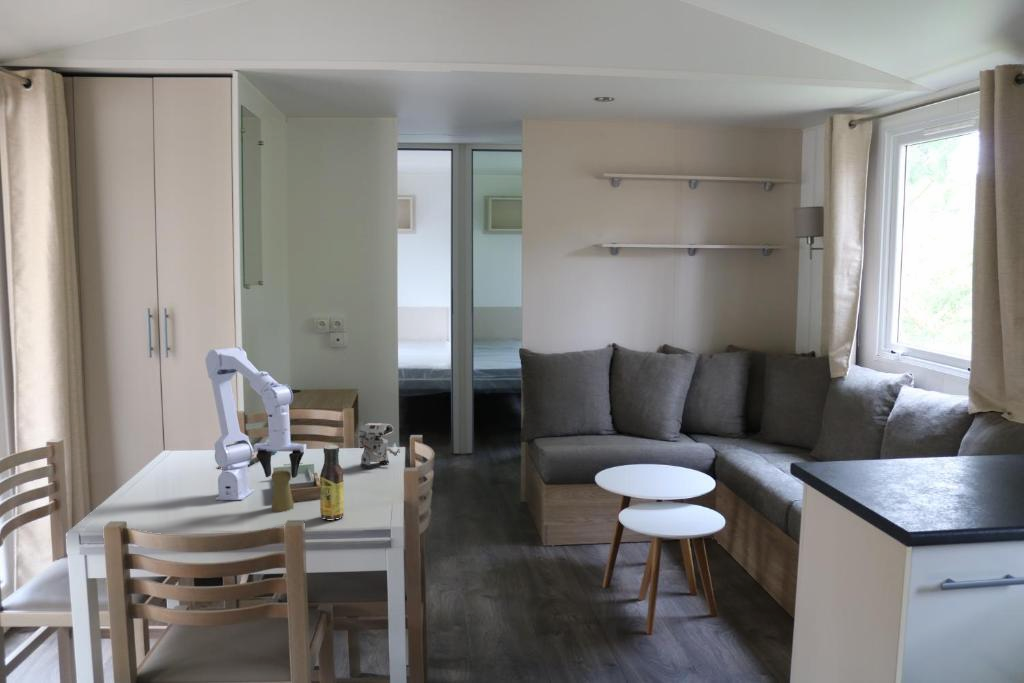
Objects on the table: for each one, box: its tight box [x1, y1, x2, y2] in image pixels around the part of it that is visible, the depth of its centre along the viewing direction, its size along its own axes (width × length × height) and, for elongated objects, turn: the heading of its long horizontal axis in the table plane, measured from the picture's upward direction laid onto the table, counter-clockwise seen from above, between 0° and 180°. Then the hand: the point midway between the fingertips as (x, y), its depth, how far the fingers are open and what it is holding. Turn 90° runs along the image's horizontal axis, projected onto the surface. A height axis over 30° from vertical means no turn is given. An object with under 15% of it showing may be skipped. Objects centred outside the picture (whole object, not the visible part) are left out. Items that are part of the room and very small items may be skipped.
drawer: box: [272, 462, 315, 489], centre depth 247 cm, size 19×13×3 cm, turn 19°
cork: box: [271, 470, 295, 513], centre depth 222 cm, size 6×6×11 cm
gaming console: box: [217, 449, 278, 469], centre depth 276 cm, size 24×3×10 cm
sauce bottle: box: [319, 444, 345, 519], centre depth 213 cm, size 6×6×20 cm
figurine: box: [359, 422, 401, 470], centre depth 265 cm, size 9×12×15 cm
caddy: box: [291, 472, 320, 502], centre depth 237 cm, size 17×13×4 cm
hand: (281, 476), depth 222 cm, fingers open, 7 cm apart
